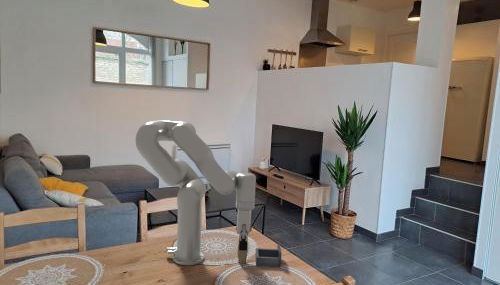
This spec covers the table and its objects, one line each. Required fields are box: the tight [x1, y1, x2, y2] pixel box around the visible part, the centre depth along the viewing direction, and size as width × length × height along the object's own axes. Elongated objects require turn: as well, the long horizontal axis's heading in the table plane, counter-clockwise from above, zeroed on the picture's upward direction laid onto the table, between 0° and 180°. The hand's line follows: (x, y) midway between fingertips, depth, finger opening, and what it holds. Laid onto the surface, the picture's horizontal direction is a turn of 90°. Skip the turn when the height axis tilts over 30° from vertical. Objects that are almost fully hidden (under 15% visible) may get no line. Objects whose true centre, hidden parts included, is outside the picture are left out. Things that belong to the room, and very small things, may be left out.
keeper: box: [254, 243, 282, 268], centre depth 146 cm, size 10×9×6 cm
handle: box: [235, 225, 253, 265], centre depth 143 cm, size 5×6×15 cm
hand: (243, 245), depth 143 cm, fingers open, 9 cm apart
